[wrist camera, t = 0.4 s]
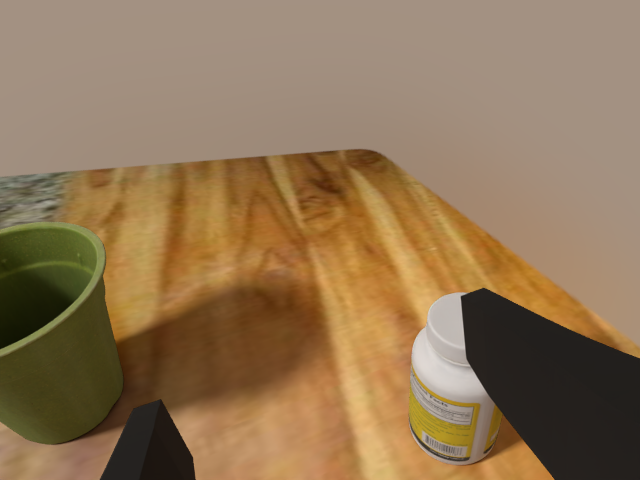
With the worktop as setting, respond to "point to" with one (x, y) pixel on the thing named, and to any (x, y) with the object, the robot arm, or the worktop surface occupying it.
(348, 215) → the worktop surface
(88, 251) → the plant pot
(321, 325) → the worktop surface
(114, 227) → the worktop surface
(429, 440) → the supplement bottle
